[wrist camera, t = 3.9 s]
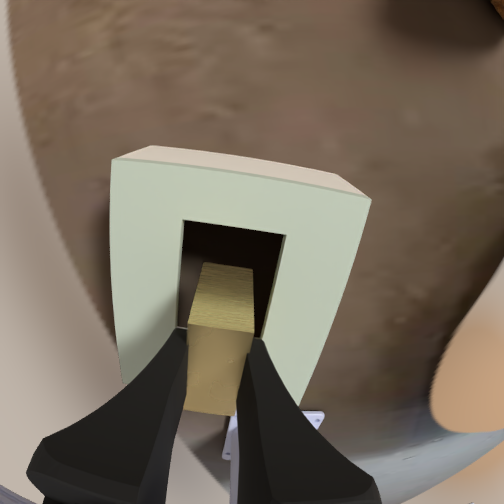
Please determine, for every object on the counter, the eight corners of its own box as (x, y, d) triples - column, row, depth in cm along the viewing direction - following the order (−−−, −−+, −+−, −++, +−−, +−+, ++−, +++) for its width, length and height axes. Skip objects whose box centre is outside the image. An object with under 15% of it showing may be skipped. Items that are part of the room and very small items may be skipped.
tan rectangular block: (236, 349, 15) (234, 416, 11) (195, 343, 15) (183, 409, 11) (252, 269, 13) (254, 332, 9) (203, 261, 13) (187, 323, 9)
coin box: (288, 347, 21) (298, 406, 16) (144, 327, 20) (122, 382, 15) (336, 174, 16) (371, 199, 11) (151, 145, 15) (111, 159, 11)
